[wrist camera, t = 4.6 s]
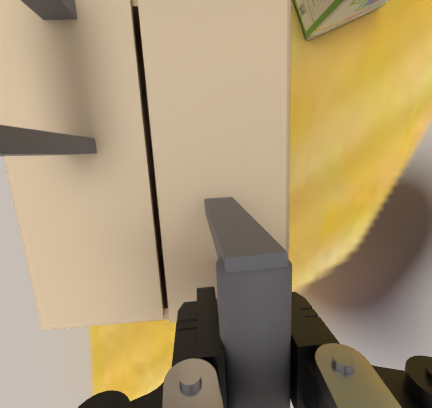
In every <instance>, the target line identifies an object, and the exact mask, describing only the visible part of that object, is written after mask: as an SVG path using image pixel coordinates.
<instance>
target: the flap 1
mask: <svg viewBox="0 0 432 408" xmlns="http://www.w3.org/2000/svg"><path fill="white" fill-rule="evenodd" d="M0 156H3V157H4V161H5V166H6V171H7V175H8V179H9V184H10V189H11V193H12V198H13V202H14V207H15V211H16V216H17V220H18V225H19V229H20V234H21V238H22V243H23V247H24V252H25V257H26V261H27V266H28V270H29V275H30V279H31V284H32V288H33V293H34V297H35V302H36V306H37V311H38V315H39V320H40V324H41V329H42V330H52V329H65V328H76V327H87V326H98V325H109V324H120V323H131V322H142V321H153V320H164V316H165V315H164V306H163V296H162V287H161V277H160V267H159V258H158V248H157V239H156V229H155V219H154V210H153V200H152V191H151V181H150V171H149V162H148V152H147V143H146V133H145V123H144V114H143V104H142V95H141V85H140V75H139V66H138V56H137V47H136V37H135V27H134V18H133V8H132V0H0Z"/></svg>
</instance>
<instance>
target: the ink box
mask: <svg viewBox="0 0 432 408" xmlns="http://www.w3.org/2000/svg"><path fill="white" fill-rule="evenodd" d="M387 1H389V0H294V3H295V6H296V8H297V11H298V14H299V17H300V20H301V24H302V28H303V32H304V34H305V37H306V40H311V39H313V38H316V37H318V36H320V35H322V34H324V33H327V32H329V31H331V30H333V29H335V28H337V27H340V26H342V25H344V24H347V23H349V22H351V21H353V20H355V19H357V18H359V17H361V16H364V15H366V14H368V13H370V12H372V11H374V10H376V9H378V8H380V7H381V6H383V5H384V4H385V3H386V2H387Z"/></svg>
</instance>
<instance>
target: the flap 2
mask: <svg viewBox="0 0 432 408" xmlns="http://www.w3.org/2000/svg"><path fill="white" fill-rule="evenodd" d="M138 9H139V19H140V29H141V39H142V49H143V59H144V69H145V79H146V89H147V99H148V109H149V119H150V129H151V139H152V149H153V159H154V169H155V179H156V189H157V199H158V209H159V219H160V229H161V239H162V249H163V259H164V269H165V279H166V289H167V299H168V309H169V319H170V322H174V321H177V314H178V310H179V308H180V307H181V306H182V304H183V303H184V302H191V301H197V288H202V287H213V286H214V288H215V295H216V302H217V309H218V315H219V333H220V338H221V341H222V343H223V349H224V358H225V378H226V398H227V408H290V375H291V301H292V264H291V261H290V260H289V259H288V252H287V251H286V120H287V0H138Z"/></svg>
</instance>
